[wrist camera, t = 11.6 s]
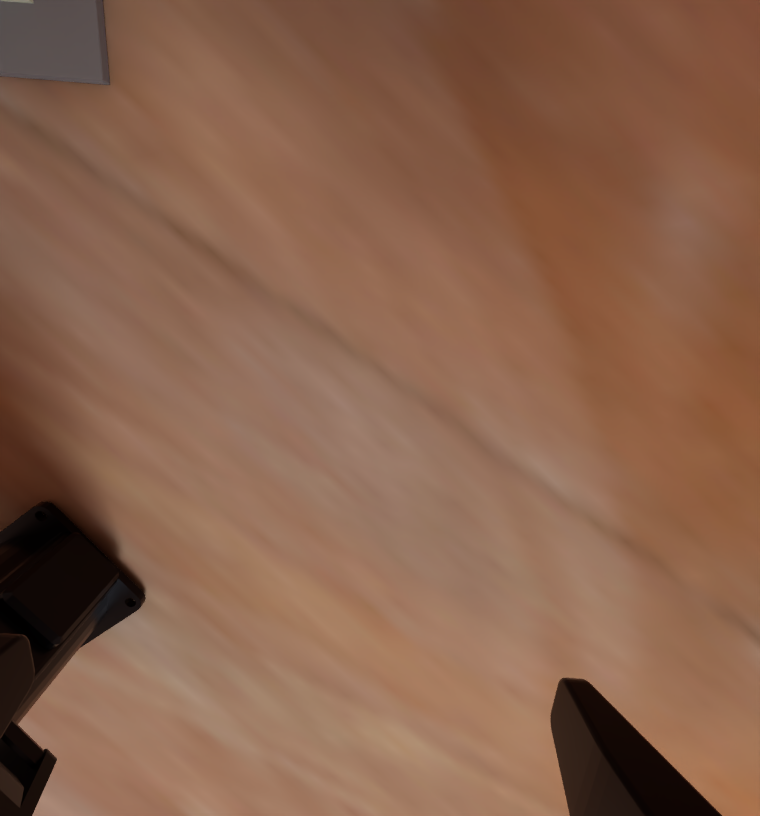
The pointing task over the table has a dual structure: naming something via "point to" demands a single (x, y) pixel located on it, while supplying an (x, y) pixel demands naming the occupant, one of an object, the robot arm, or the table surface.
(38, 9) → the charcoal mat
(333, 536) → the table surface
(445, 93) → the table surface
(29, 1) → the sage block
